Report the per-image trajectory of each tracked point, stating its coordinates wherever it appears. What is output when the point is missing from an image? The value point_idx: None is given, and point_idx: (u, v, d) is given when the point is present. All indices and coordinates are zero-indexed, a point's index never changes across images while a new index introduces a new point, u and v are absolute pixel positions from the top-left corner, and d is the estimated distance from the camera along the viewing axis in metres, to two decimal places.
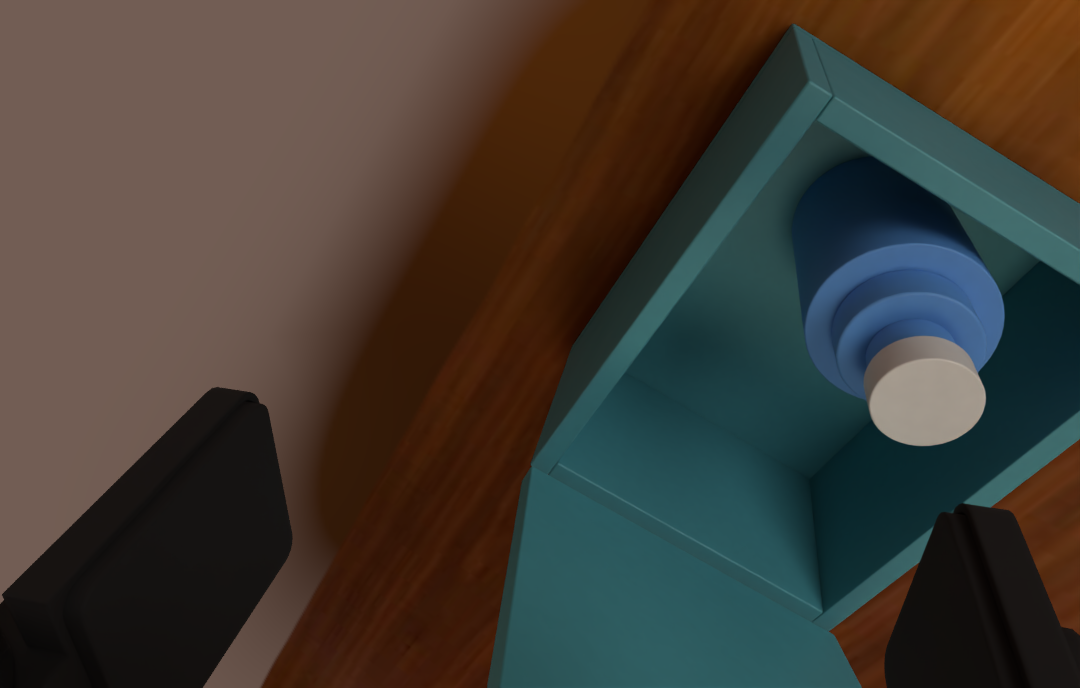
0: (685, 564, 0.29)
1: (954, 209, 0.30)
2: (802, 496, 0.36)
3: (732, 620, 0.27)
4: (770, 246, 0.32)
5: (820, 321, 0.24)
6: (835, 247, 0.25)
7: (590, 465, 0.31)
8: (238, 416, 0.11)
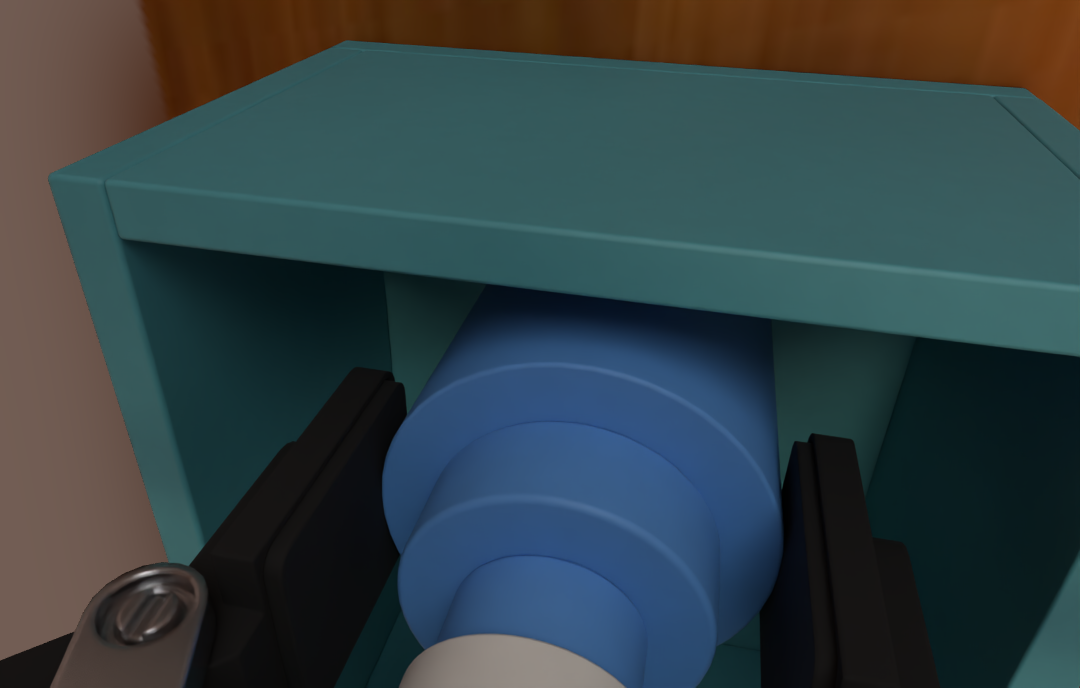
0: None
1: None
2: None
3: None
4: None
5: None
6: None
7: None
8: (383, 394, 0.11)
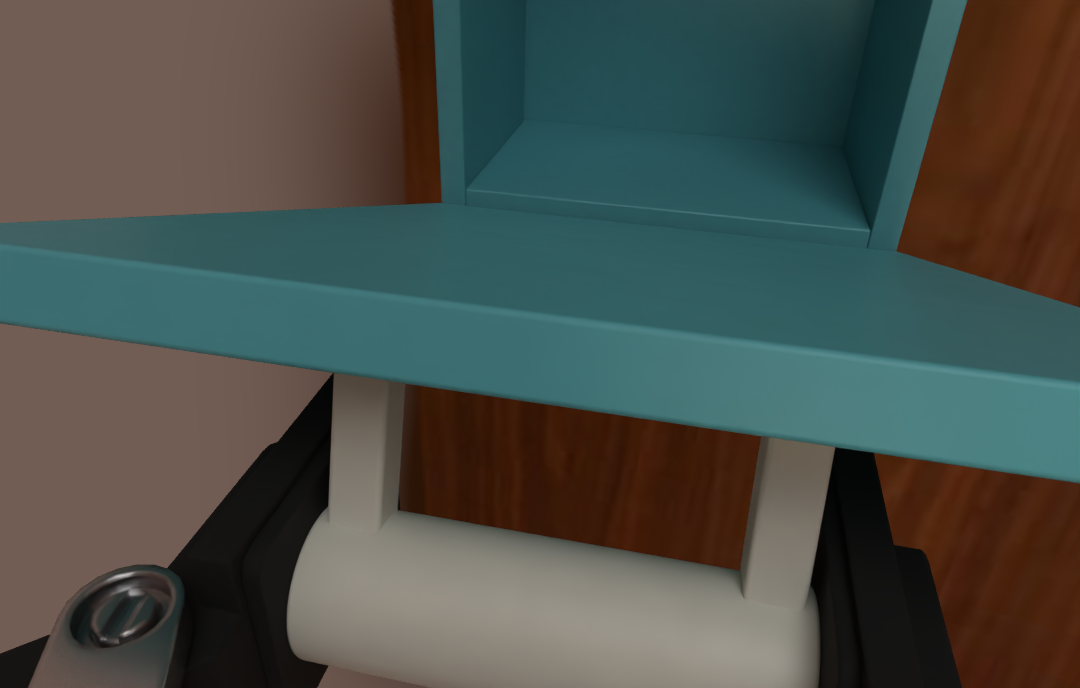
0: (647, 227, 0.22)
1: None
2: (831, 158, 0.28)
3: (702, 237, 0.20)
4: None
5: None
6: None
7: (512, 183, 0.25)
8: None
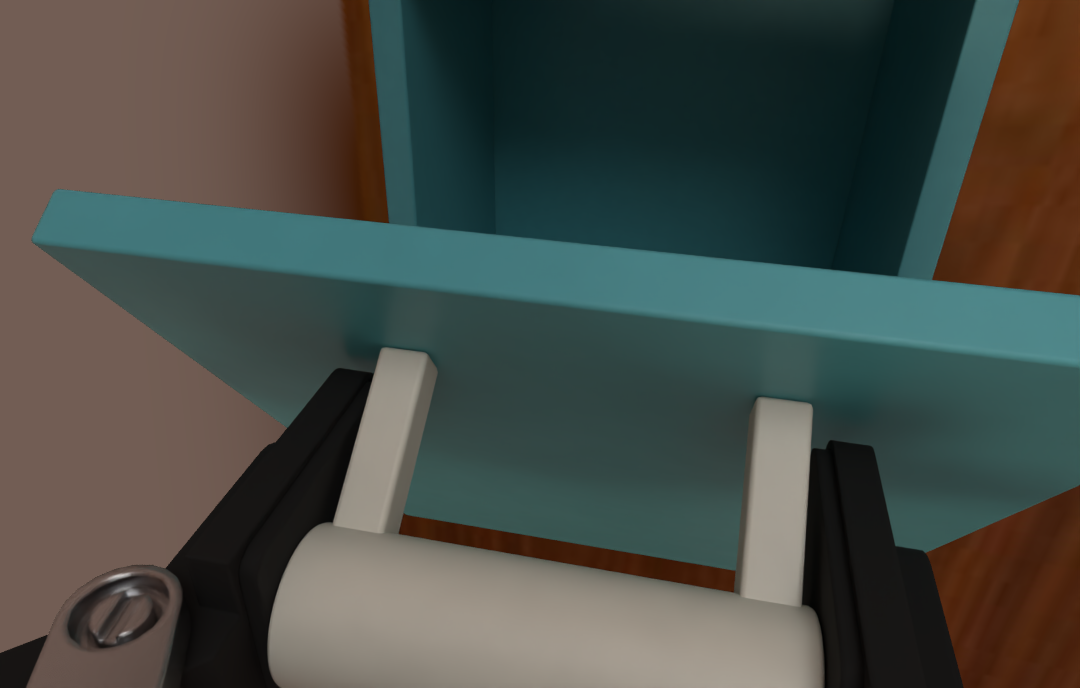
0: None
1: (755, 2, 0.24)
2: None
3: None
4: (593, 148, 0.27)
5: None
6: None
7: None
8: (365, 395, 0.11)
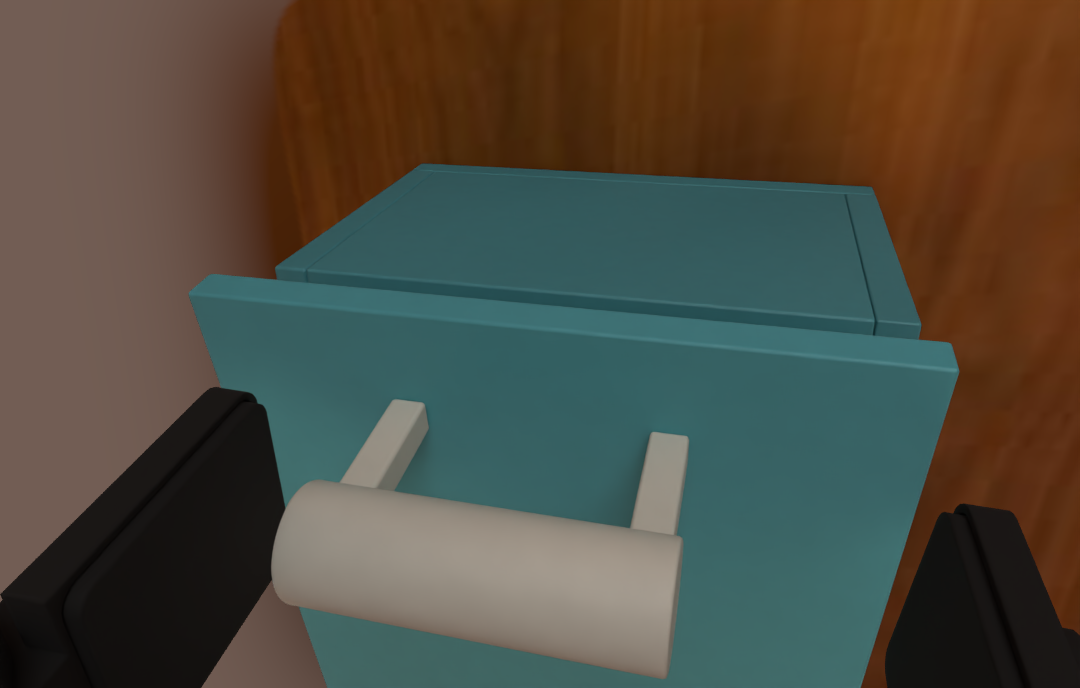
0: None
1: None
2: None
3: None
4: None
5: None
6: None
7: None
8: (236, 416, 0.11)
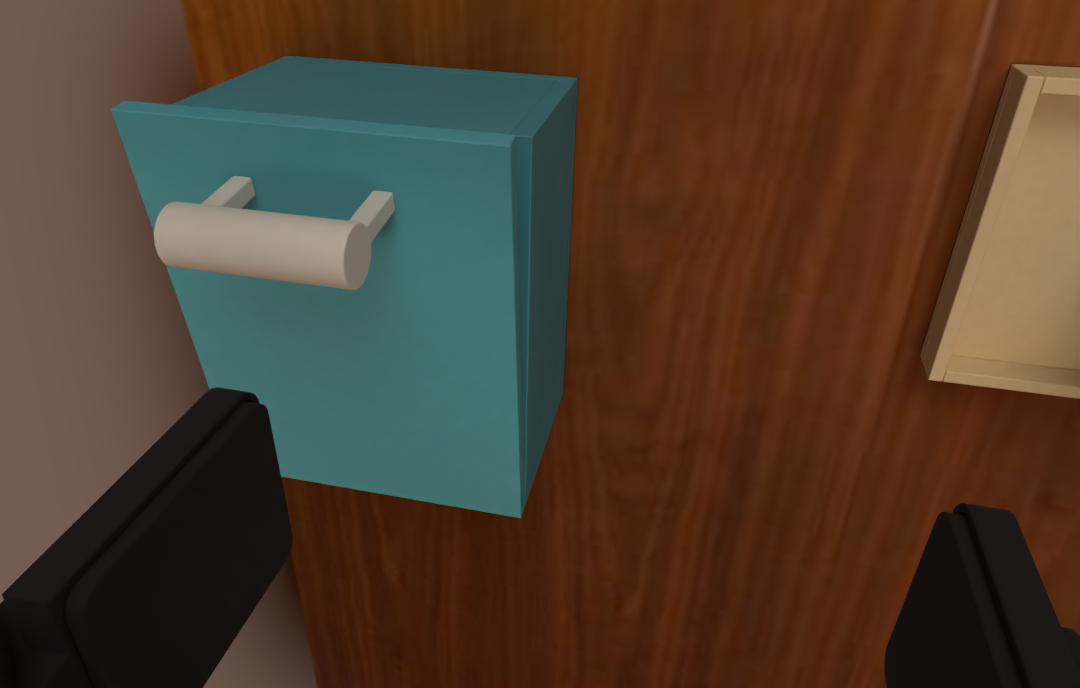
0: None
1: None
2: None
3: None
4: None
5: None
6: None
7: None
8: (238, 416, 0.11)
